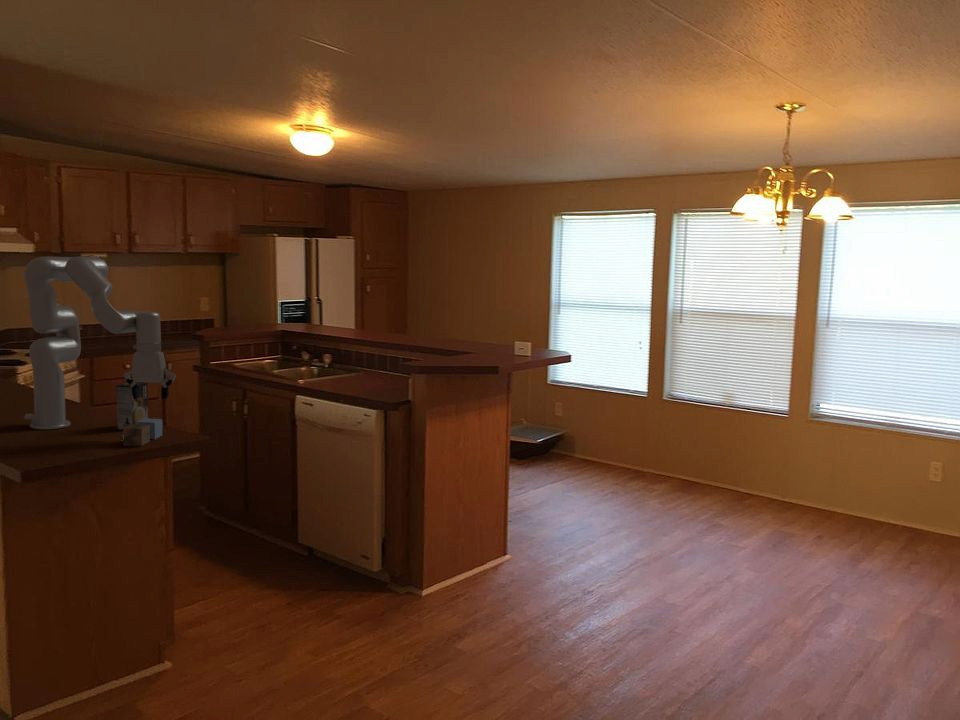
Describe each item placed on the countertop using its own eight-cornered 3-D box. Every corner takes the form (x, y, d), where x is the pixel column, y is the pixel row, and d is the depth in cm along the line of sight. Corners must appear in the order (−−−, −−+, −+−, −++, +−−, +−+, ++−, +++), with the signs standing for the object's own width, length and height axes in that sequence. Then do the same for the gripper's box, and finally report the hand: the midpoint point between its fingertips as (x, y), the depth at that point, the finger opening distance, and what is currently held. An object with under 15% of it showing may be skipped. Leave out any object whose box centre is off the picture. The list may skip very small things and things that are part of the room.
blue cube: (137, 439, 258) (137, 421, 258) (145, 435, 264) (144, 418, 264) (155, 440, 258) (154, 422, 258) (162, 436, 264) (162, 419, 264)
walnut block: (123, 446, 248) (123, 428, 248) (131, 442, 254) (131, 424, 254) (141, 447, 248) (141, 428, 248) (149, 442, 254) (149, 425, 254)
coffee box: (133, 424, 280) (132, 381, 278) (149, 425, 279) (148, 382, 277) (116, 429, 271) (115, 384, 269) (132, 430, 270) (132, 385, 268)
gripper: (118, 349, 254) (119, 399, 256) (170, 350, 254) (171, 400, 256) (128, 346, 261) (130, 396, 263) (179, 347, 261) (180, 397, 263)
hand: (150, 398), depth 259 cm, fingers open, 9 cm apart
